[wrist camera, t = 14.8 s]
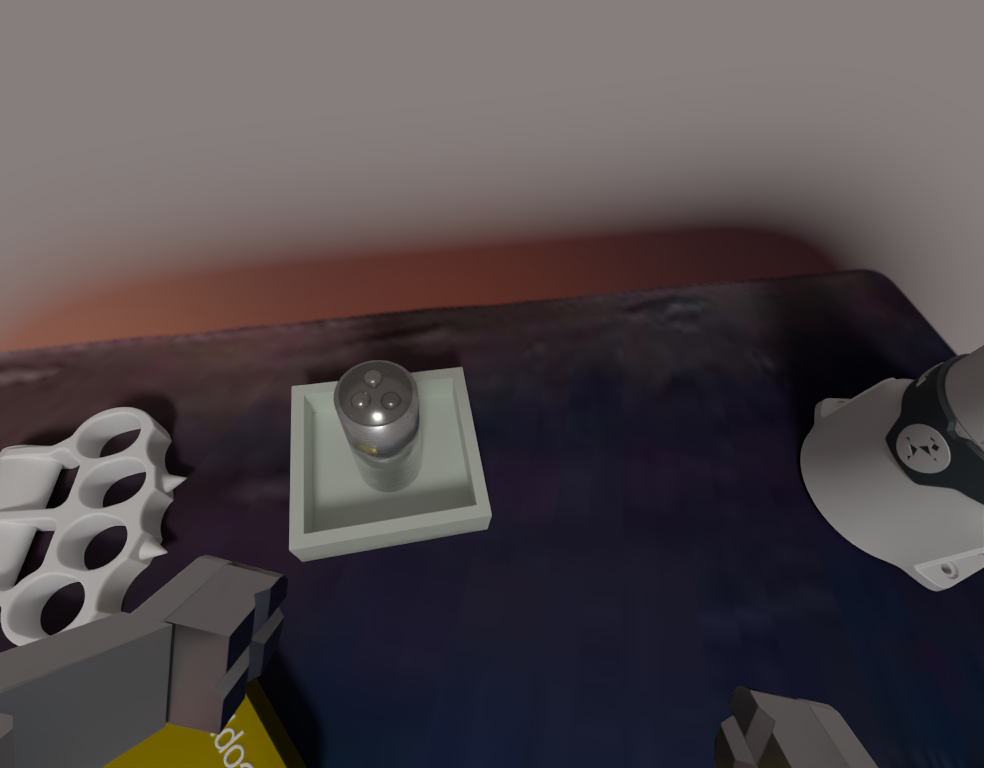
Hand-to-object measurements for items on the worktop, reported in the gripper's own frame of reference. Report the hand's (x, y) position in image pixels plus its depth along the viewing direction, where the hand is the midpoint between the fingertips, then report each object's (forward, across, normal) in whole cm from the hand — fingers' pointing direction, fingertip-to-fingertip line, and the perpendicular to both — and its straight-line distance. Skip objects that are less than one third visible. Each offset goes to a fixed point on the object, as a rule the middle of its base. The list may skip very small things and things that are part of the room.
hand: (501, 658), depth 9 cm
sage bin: (+32, +10, +12) cm, 36 cm away
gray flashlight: (+32, +10, +11) cm, 35 cm away
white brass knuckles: (+25, +31, +20) cm, 45 cm away
